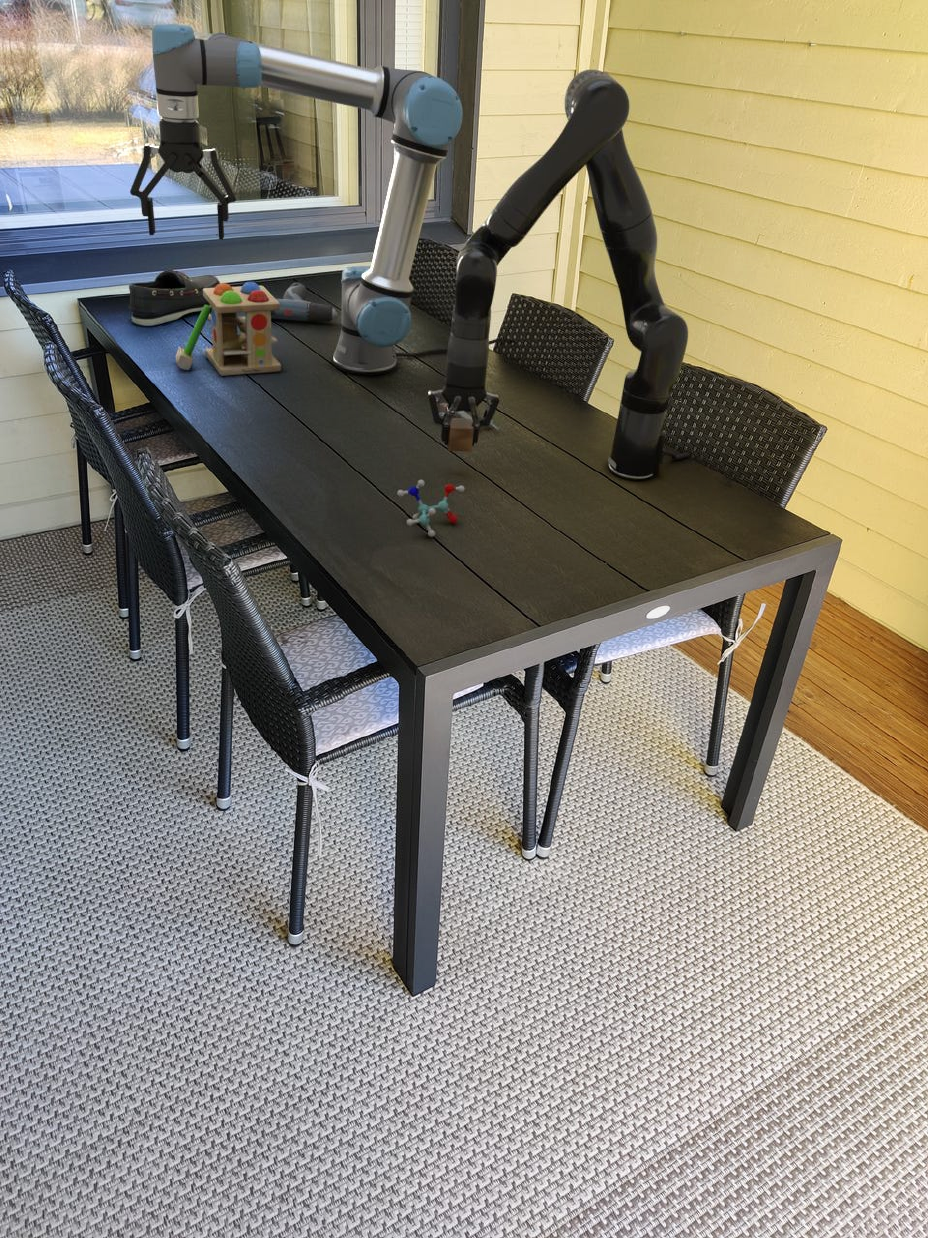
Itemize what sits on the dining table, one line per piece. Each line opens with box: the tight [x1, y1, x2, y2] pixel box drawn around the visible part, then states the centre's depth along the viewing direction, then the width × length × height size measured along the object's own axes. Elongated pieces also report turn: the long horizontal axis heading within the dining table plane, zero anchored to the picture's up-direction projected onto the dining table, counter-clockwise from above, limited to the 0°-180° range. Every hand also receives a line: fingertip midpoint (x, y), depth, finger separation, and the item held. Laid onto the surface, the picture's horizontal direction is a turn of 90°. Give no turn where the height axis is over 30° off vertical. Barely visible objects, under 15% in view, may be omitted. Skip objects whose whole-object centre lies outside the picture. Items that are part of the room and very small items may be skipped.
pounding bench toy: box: [174, 281, 282, 377], centre depth 225 cm, size 23×14×18 cm, turn 116°
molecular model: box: [397, 479, 466, 538], centre depth 173 cm, size 12×10×10 cm
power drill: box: [271, 282, 338, 322], centre depth 265 cm, size 5×19×20 cm
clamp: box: [439, 402, 502, 433], centre depth 212 cm, size 15×2×10 cm
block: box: [446, 418, 474, 453], centre depth 189 cm, size 4×5×5 cm
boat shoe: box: [128, 268, 221, 327], centre depth 258 cm, size 13×33×10 cm, turn 147°
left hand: (187, 235), depth 198 cm, fingers open, 13 cm apart
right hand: (459, 443), depth 190 cm, fingers closed on block, 4 cm apart
